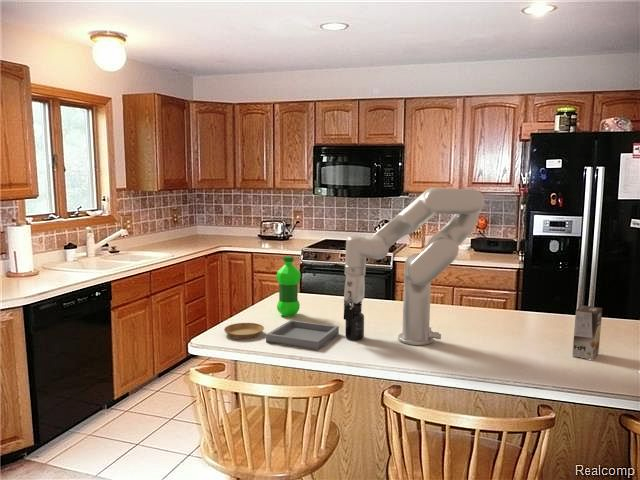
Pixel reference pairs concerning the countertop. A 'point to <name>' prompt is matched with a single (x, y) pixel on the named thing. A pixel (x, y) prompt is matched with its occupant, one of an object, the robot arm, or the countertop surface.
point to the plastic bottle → (288, 288)
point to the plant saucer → (244, 330)
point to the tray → (302, 334)
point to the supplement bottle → (355, 325)
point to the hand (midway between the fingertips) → (352, 316)
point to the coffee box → (587, 332)
